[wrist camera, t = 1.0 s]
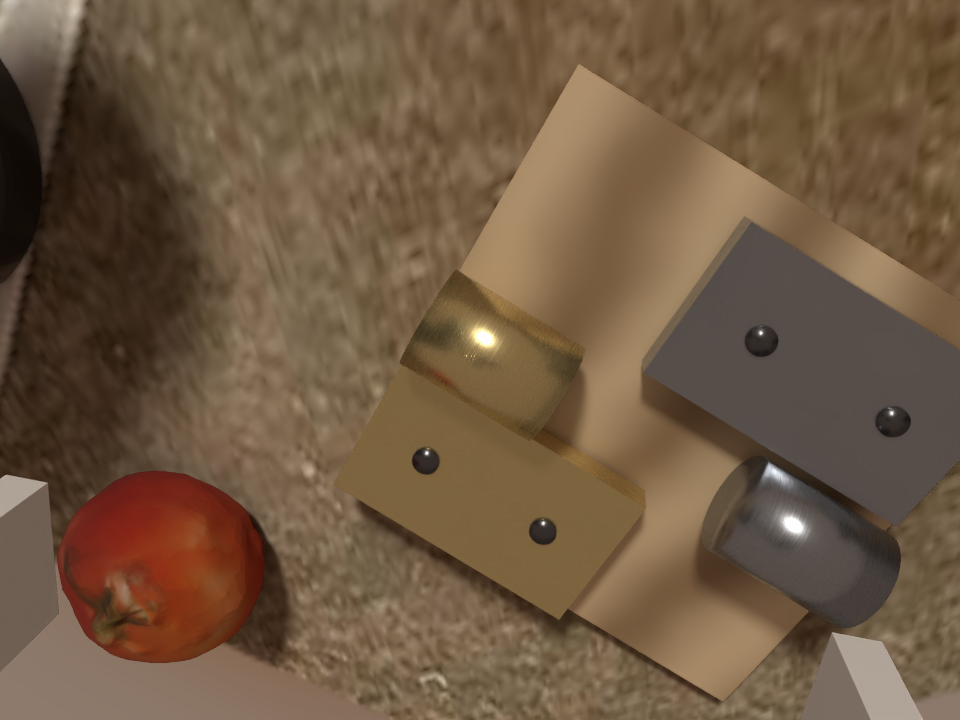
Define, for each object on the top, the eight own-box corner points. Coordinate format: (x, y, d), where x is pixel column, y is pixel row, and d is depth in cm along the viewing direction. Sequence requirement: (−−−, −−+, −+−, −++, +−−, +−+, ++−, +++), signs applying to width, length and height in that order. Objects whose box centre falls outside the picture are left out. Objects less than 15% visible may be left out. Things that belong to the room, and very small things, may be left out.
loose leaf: (344, 468, 36) (309, 515, 32) (465, 260, 32) (443, 283, 28) (561, 598, 36) (554, 661, 32) (708, 408, 32) (722, 453, 28)
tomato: (312, 585, 40) (244, 694, 33) (167, 613, 43) (72, 721, 35) (245, 428, 38) (155, 507, 30) (95, 467, 40) (-23, 549, 33)
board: (350, 462, 37) (342, 473, 36) (580, 65, 30) (578, 64, 29) (719, 684, 38) (722, 701, 37) (1034, 347, 31) (1050, 356, 29)
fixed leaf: (581, 444, 34) (576, 491, 29) (744, 216, 29) (766, 234, 25) (820, 589, 34) (848, 656, 30) (1015, 383, 30) (1079, 427, 26)
